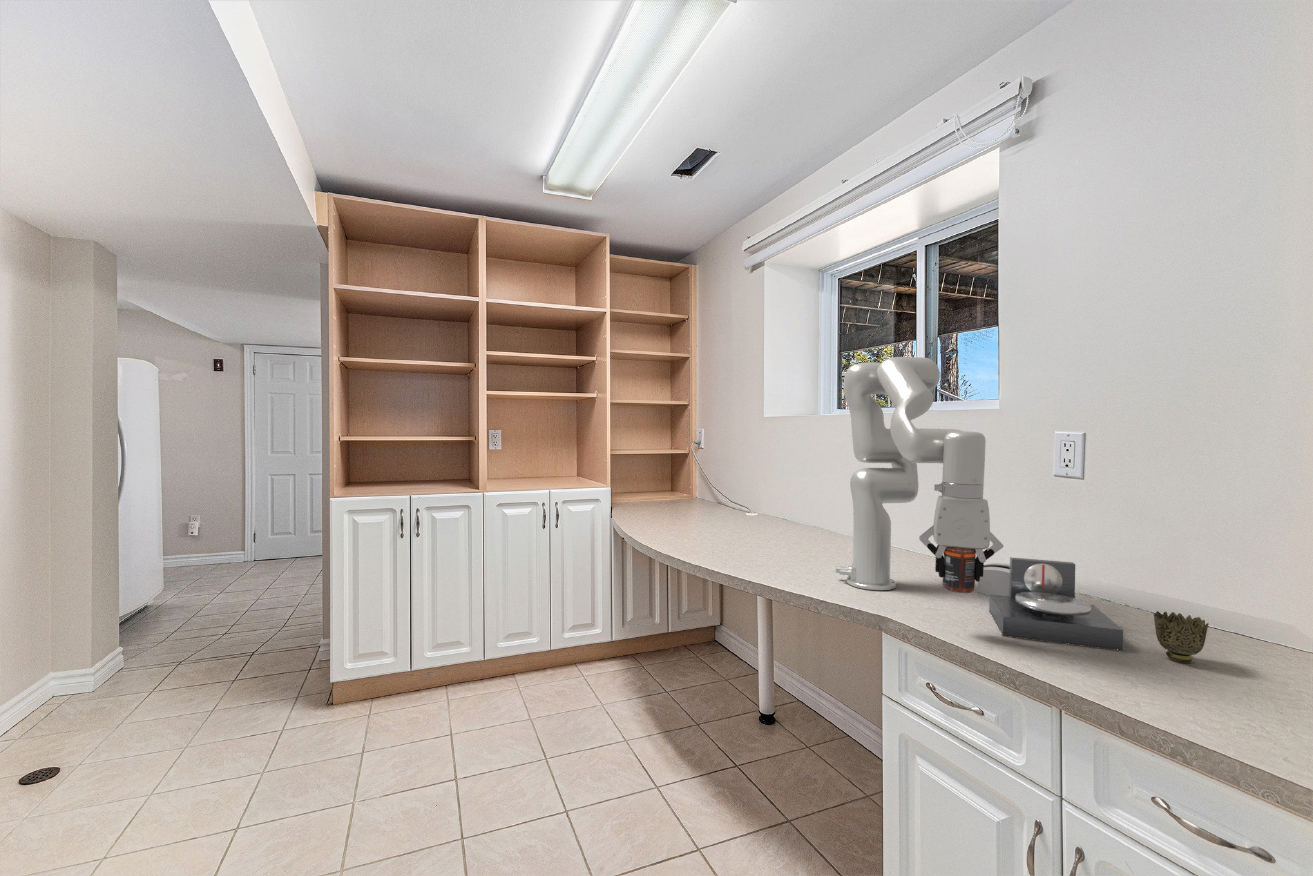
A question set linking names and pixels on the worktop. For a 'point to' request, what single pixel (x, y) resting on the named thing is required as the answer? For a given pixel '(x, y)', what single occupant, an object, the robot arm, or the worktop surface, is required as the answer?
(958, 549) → the supplement bottle
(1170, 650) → the cup
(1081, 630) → the dial scale
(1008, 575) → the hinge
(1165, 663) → the worktop surface
